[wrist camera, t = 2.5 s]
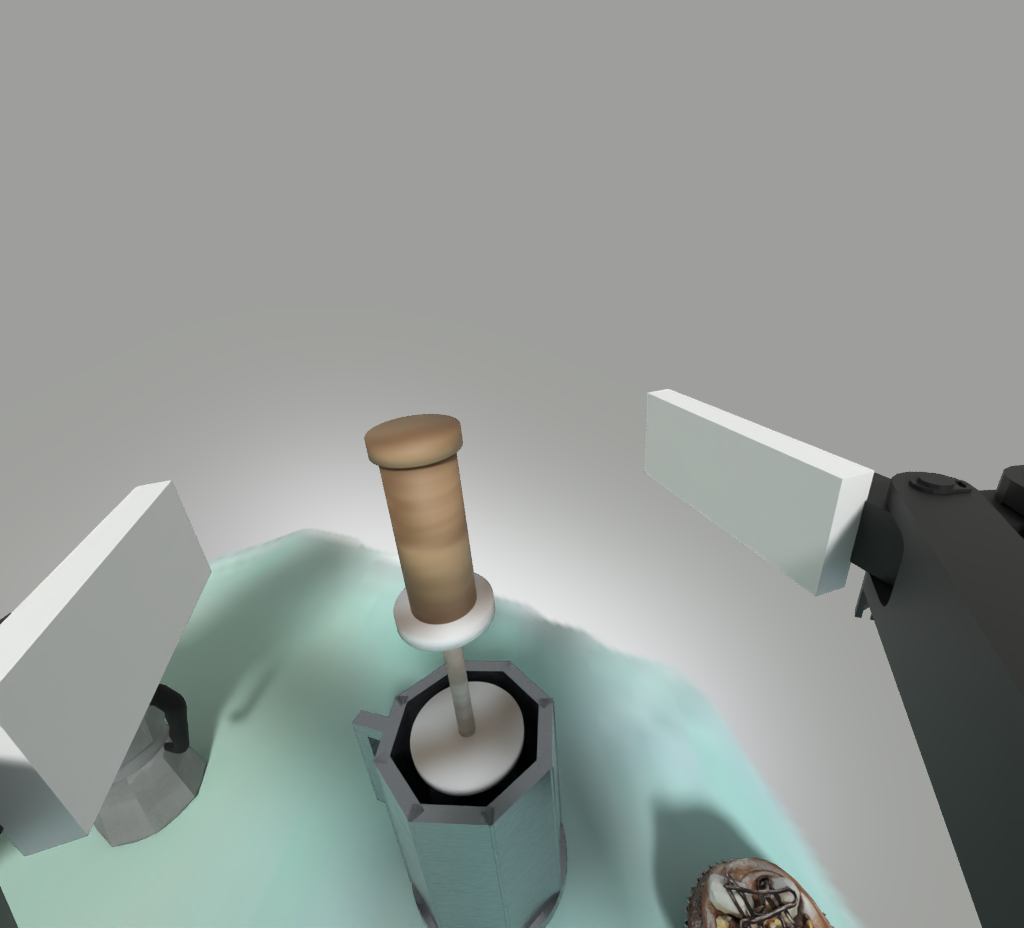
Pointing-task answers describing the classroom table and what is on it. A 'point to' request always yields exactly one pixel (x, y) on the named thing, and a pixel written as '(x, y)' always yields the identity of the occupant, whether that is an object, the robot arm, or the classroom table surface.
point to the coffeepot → (152, 774)
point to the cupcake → (751, 898)
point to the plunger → (443, 606)
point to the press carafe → (474, 814)
